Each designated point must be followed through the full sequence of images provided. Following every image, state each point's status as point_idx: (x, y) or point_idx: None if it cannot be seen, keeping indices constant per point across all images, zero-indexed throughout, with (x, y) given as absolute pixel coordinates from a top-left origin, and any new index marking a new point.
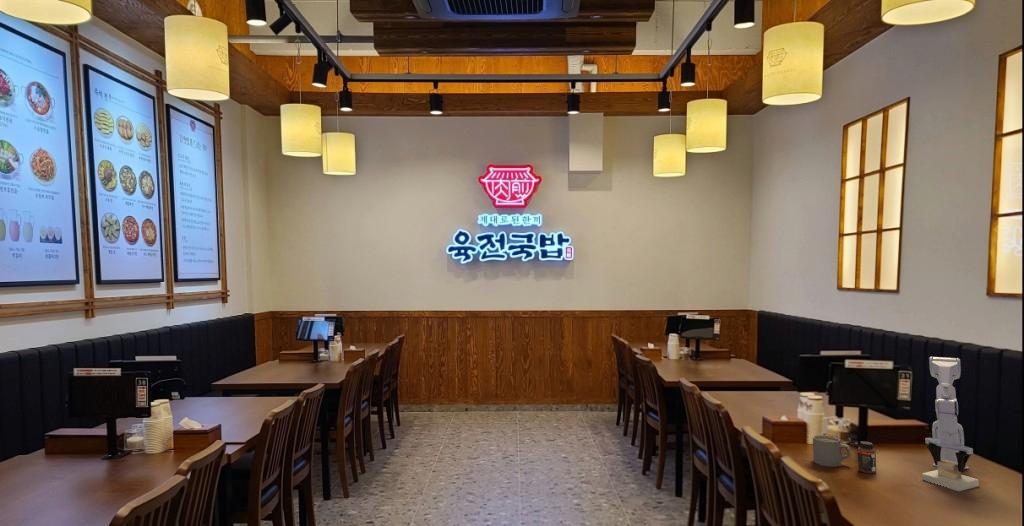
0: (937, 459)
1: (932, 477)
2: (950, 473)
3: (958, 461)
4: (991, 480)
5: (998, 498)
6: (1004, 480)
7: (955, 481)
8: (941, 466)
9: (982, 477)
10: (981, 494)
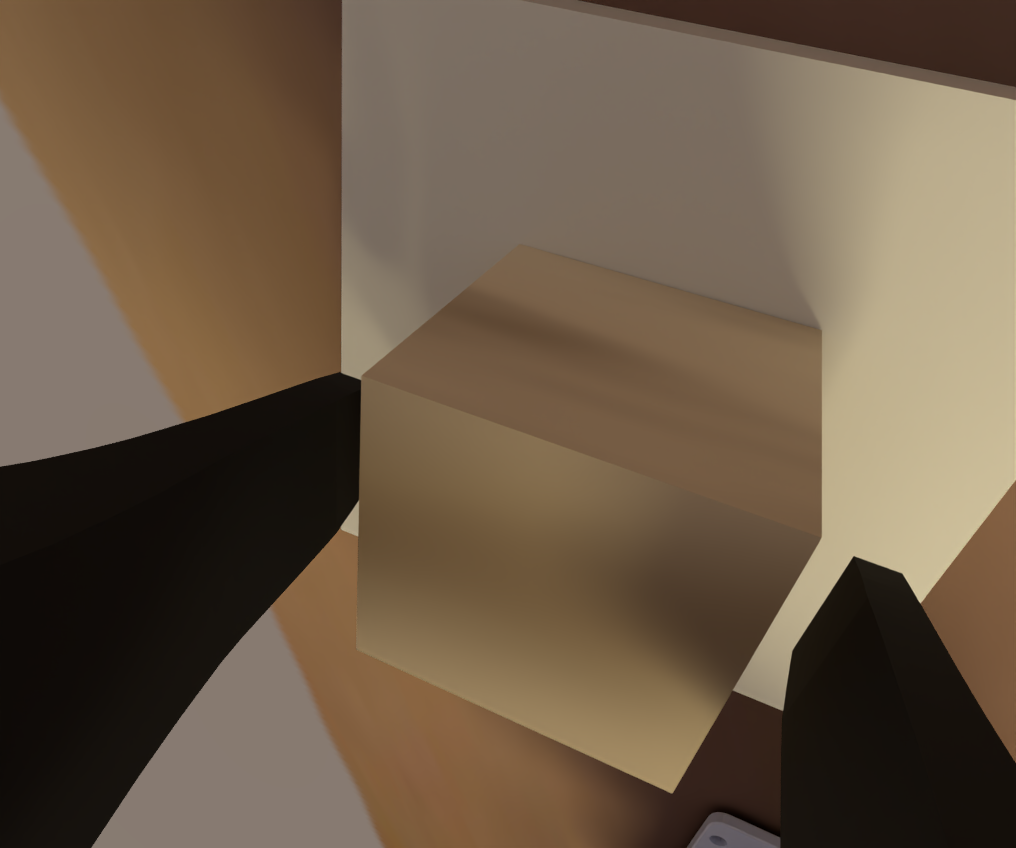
0: (849, 726)
1: (927, 84)
2: (523, 297)
3: (130, 486)
4: (408, 705)
5: (83, 148)
6: (361, 744)
7: (455, 150)
8: (704, 416)
9: (483, 749)
10: (218, 137)
